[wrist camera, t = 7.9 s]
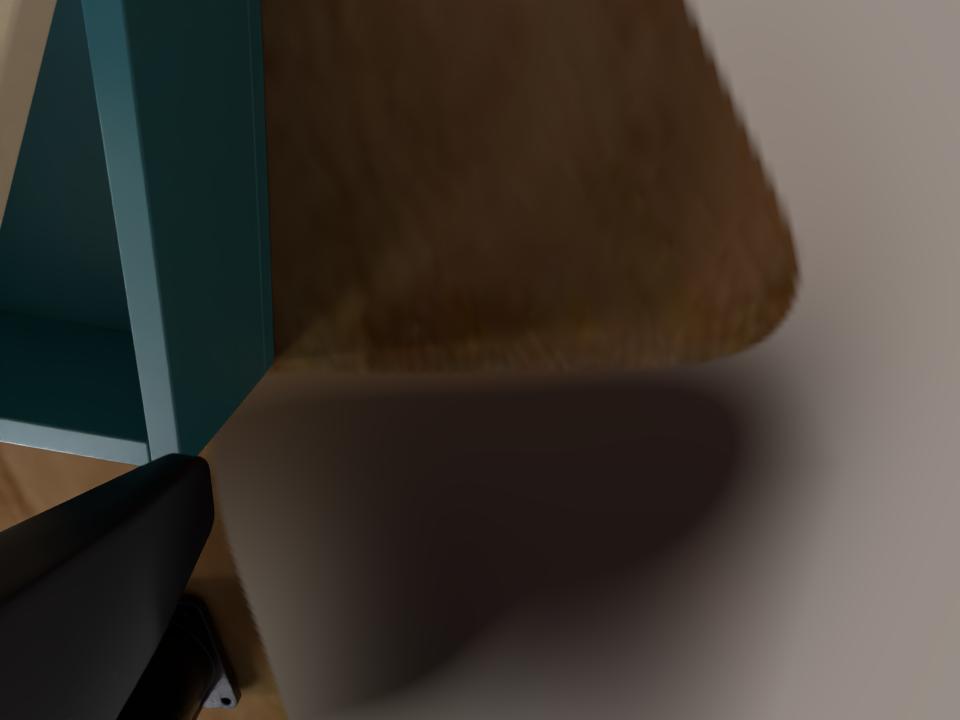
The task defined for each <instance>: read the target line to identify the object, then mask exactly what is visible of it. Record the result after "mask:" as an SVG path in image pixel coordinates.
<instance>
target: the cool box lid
mask: <svg viewBox="0 0 960 720" xmlns="http://www.w3.org/2000/svg"><path fill="white" fill-rule="evenodd" d="M56 2H57V0H0V228H1V224H2V220H3V216H4V212H5V208H6V204H7V200H8V196H9V192H10V187H11V183H12V179H13V175H14V171H15V167H16V163H17V159H18V155H19V151H20V147H21V143H22V139H23V135H24V131H25V127H26V123H27V119H28V115H29V111H30V107H31V103H32V99H33V95H34V91H35V87H36V83H37V79H38V74H39V70H40V66H41V62H42V58H43V54H44V50H45V46H46V42H47V38H48V34H49V30H50V26H51V22H52V18H53V14H54V10H55V6H56Z"/></svg>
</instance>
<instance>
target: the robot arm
mask: <svg viewBox="0 0 960 720" xmlns="http://www.w3.org/2000/svg"><path fill="white" fill-rule="evenodd" d="M214 514H215V512H214V501H213V493H212V484H211V476H210V469H209V465H208V463H207V461H206V460H205V459H204V458H202V457H200V456H193V455H187V454H180V453H169V454H166V455H164V456H162V457H159V458H157V459H155V460H153V461H151V462H149V463H147V464H145V465H142V466H140V467H138V468H136V469H134V470H132V471H130V472H127V473H125V474H123V475H121V476H119V477H117V478H115V479H113V480H110V481H108V482H106V483H104V484H102V485H100V486H98V487H96V488H93V489H91V490H89V491H87V492H85V493H83V494H81V495H78V496H76V497H74V498H72V499H70V500H68V501H66V502H64V503H61V504H59V505H57V506H55V507H53V508H51V509H49V510H46V511H44V512H42V513H40V514H38V515H36V516H34V517H32V518H29V519H27V520H25V521H23V522H21V523H19V524H17V525H15V526H12V527H10V528H8V529H6V530H4V531H2V532H0V720H196V719H197V717H198V715H199V713H200V712H201V710H202V708H203V707H209V708H227V709H231V708H235V707H236V706H237V704H238V702H239V700H240V698H241V692H240V690H239V687H238V685H237V682H236V680H235V677H234V675H233V672H232V670H231V667H230V665H229V662H228V660H227V657H226V654H225V652H224V649H223V647H222V644H221V642H220V639H219V637H218V634H217V632H216V629H215V627H214V624H213V621H212V619H211V616H210V614H209V611H208V609H207V606H206V604H205V603H204V601H202V600H201V599H200V598H198V597H195V596H182V594H183V591H184V589H185V587H186V585H187V583H188V580H189V578H190V576H191V574H192V572H193V569H194V567H195V565H196V563H197V561H198V558H199V556H200V554H201V552H202V550H203V547H204V545H205V543H206V541H207V539H208V536H209V534H210V532H211V529H212V526H213V522H214Z"/></svg>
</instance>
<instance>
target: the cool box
mask: <svg viewBox="0 0 960 720" xmlns="http://www.w3.org/2000/svg"><path fill="white" fill-rule="evenodd" d="M273 364H274V336H273V310H272V284H271V258H270V232H269V206H268V180H267V154H266V128H265V102H264V76H263V50H262V24H261V0H57V2H56V6H55V10H54V14H53V18H52V22H51V26H50V30H49V34H48V38H47V42H46V46H45V50H44V54H43V58H42V62H41V66H40V70H39V74H38V79H37V83H36V87H35V91H34V95H33V99H32V103H31V107H30V111H29V115H28V119H27V123H26V127H25V131H24V135H23V139H22V143H21V147H20V151H19V155H18V159H17V163H16V167H15V171H14V175H13V179H12V183H11V187H10V192H9V196H8V200H7V204H6V208H5V212H4V216H3V220H2V224H1V228H0V442H6V443H12V444H17V445H23V446H29V447H35V448H40V449H46V450H52V451H58V452H64V453H69V454H75V455H81V456H87V457H92V458H98V459H104V460H110V461H115V462H121V463H127V464H133V465H139V466H142V465H145V464H147V463H149V462H151V461H153V460H155V459H157V458H159V457H162V456H164V455H166V454H169V453H180V454H187V455H193V456H198V454H199V453H200V452H201V451H202V450H203V448H204V447H205V446H206V445H207V444H208V442H209V441H210V440H211V439H212V437H213V436H214V435H215V434H216V433H217V431H218V430H219V429H220V428H221V427H222V425H223V424H224V423H225V422H226V421H227V419H228V418H229V417H230V416H231V415H232V413H233V412H234V411H235V410H236V409H237V407H238V406H239V405H240V404H241V403H242V401H243V400H244V399H245V398H246V397H247V395H248V394H249V393H250V392H251V390H252V389H253V388H254V387H255V386H256V384H257V383H258V382H259V381H260V380H261V378H262V377H263V376H264V375H265V373H266V372H267V371H268V370H269V368H270V367H271V366H272V365H273Z"/></svg>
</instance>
